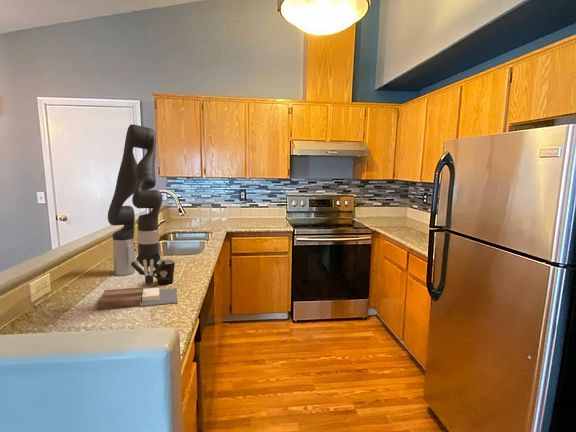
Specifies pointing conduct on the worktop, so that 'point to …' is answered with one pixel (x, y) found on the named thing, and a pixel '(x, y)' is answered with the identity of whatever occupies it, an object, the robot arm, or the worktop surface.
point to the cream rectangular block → (150, 294)
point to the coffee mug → (165, 272)
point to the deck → (120, 298)
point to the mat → (163, 298)
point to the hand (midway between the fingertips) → (149, 284)
